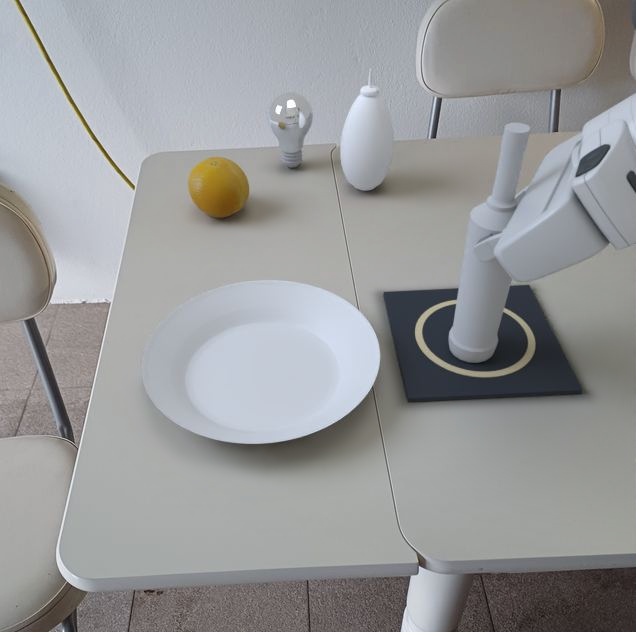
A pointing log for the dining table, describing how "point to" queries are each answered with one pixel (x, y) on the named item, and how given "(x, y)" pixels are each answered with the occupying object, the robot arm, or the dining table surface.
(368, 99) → the sauce bottle
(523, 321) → the mat
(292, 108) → the light bulb
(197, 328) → the white plate
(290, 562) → the dining table surface
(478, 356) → the bottle
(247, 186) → the fruit
